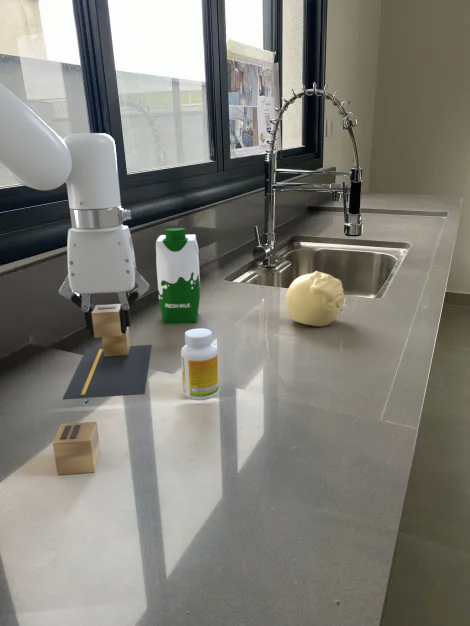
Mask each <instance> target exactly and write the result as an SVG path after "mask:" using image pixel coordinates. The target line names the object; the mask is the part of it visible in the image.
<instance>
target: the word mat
mask: <svg viewBox="0 0 470 626" xmlns="http://www.w3.org/2000/svg"><path fill="white" fill-rule="evenodd" d="M152 346H153V345H152V344H141V345H140V344H138V345H130V350H129V354H128V355H122V356H104V348H103V346H102V347H101V346H99V347H87V348H86V349H85V351H84V353H83V355H82V357H81V359H80V362H79V363H78V366H77V368H76V370H75V372H74V374H73V376H72V378H71V380H70V382H69V385H68V387H67V389H66V391H65V392H64V395H63V397H62V400H72V399H73V400H75V399H91V398H106V397H107V398H108V397H120V396H139V395H145V393H146V385H147V379H148V372H149V366H150V358H151V354H152Z"/></svg>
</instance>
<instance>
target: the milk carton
mask: <svg viewBox="0 0 470 626" xmlns="http://www.w3.org/2000/svg"><path fill="white" fill-rule="evenodd" d="M164 230H165V231H164V233H165V234H160V235H159V236H158V237H157V239H156V241H155V253H156V256H155V262H156V265H155V266H156V280H157V292H158V293H157V294H158V302H159V308H160V314H161V319H162V324H163V325H167V324H168V325H174V324H176V325H179V324H197V321H198V314H199V308H200V302H201V301H200V300H201V277H200V276H201V275H200V274H201V273H200V259H199V254H200V253H199V252H200V250H199V245H198V241H197V235H196V234H195V233H194V234H186V228H185V227H168V228H165V229H164Z"/></svg>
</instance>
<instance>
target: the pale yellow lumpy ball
mask: <svg viewBox="0 0 470 626" xmlns="http://www.w3.org/2000/svg"><path fill="white" fill-rule="evenodd" d="M344 298H345V293H344V288H343V283H342V280H340V279H339V278H337V277H334V276H333V275H331V274H329V273H326V272H321V271H318V270H315V271H314V272H311V273H306V274H303V275H300V276H298V277H297V278H295V279H294V280H293V281H292V282H291V283H290V285H289V287H288V289H287V291H286V295H285V309H286V311H287V314H288V316H289V318H290V319H291V320H292V321H293V322H296V323H299V324H302V325H305V326H312V327H325V326H329V325H330V324H332V323H333V322H335V321H336V320H337V319H338V318H339V316H340V315H341V312H342V311H343V309H344V307H343V306H342V305H344V303H345V299H344Z"/></svg>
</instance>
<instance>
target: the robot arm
mask: <svg viewBox="0 0 470 626" xmlns="http://www.w3.org/2000/svg"><path fill="white" fill-rule="evenodd" d="M117 160H118V159H117V150H116V144H115V139H114V138H113V137H112V136H111V135H110V134H107V133H100V132H83V133H80V132H79V133H70V134H67V135H66V136H63V135H62V136H60V135H59V134H58V133H56V131H55V130H54V129H52V128H51V126H49V125H48V124H47V123H46V122H45V121H44V120H43V119H42V118H41V117H39V116H38V115H37V114H36V113H35V111H33V110H32V109H31V108H30V107H29V106H27V104H25V102H23V101H22V100H21V99H20V98H19V97H17V95H15V94H14V93H13V92H12V91H11V90H9V89H8V88H7V87H6V86H4V85H3V84H2V83H1V82H0V164H2V165H3V166H4V167H5V169H6V171H7V173H8V174H9V176H11V178H12V179H13V180H14V181H16V182H17V183H18V184H21V185H23V186H24V187H28V188H31V189H33V190H34V189H35V190H37V191H52V190H55V189H57V188H60V187H61V186H63V185H64V184H66V190H67V191H66V192H67V198H68V206H69V207H68V208H69V213H70V220H71V221H70V222H71V228H68V231H67V247H66V251H67V252H66V253H67V254H66V255H67V276H66V278H65V279H64V281H63V282H62V285H60V288H59V290H58V294H59V295H60V296H62V297H64V298H66V299H67V300H70V301H71V302H72V303H73V304H75V305H76V306H77V307H79V308H80V310H81V312H83V313H84V319H85V320H84V321H85V329H86V330H89V332H90V336H93V337H94V329H93V321H92V311H93V310H94V308H95V305H94V304H93V298H94V294H108V293H109V294H110V293H111V294H113V293H116V294H117V297H118V300H119V304H121V305H120V311H119V314H120V324H121V333H122V334H126V331H127V327H129V328H131V326H132V321H131V310H130V308H131V306H132V305H133V304H134V303H135V302H136V301H137V300H138V299H139V298H140V297H141V296H143V295H144V294H145V293H147V292H148V291H149V290H150V284H149V283H148V281H147V280H146V279H145V277H144V276H143V275H142V274H141V273H140V271H139V270H138V269H137V263H136V256H135V249H134V244H133V238H132V235H131V231H130V228H129V225H124V222H125V221H128V220H132V219H133V217H132V210H127V209H124V208H123V205H122V202H121V193H120V192H121V191H120V181H119V180H120V179H119V170H118V161H117ZM136 285H137V287H136ZM135 287H136V288H135ZM134 288H135V289H134ZM131 290H132V291H131ZM129 291H131V292H130V293H129Z"/></svg>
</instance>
